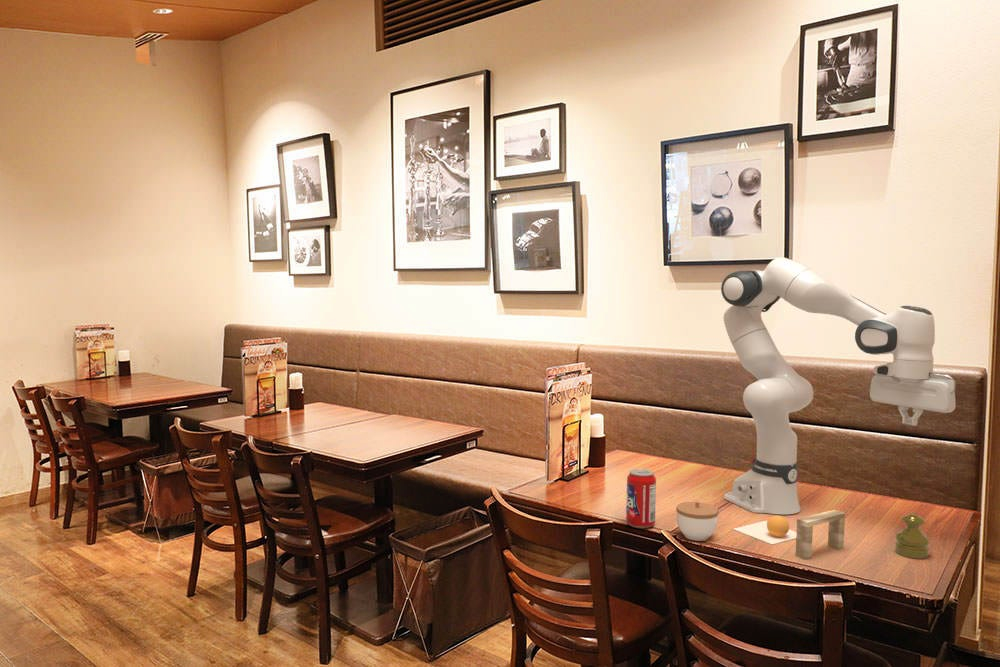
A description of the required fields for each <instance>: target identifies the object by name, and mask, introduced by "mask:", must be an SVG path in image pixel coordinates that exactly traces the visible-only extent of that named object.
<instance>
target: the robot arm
mask: <svg viewBox="0 0 1000 667" xmlns="http://www.w3.org/2000/svg"><path fill="white" fill-rule="evenodd" d="M720 288H721V290H720V291H721V295H722V298H723V299H724V301H725V302H726V303H727V304H730V305H731V306H729V308H727V309H726V310H725V311H724V313H723V324H724V327H725V329H726V333H727V336H728V339H729V341H730V343H731V345H732V348H733V350H734V351H735V353H736V355H737V358H738V359H739V361H740V364H741V365H742V366H741V367H743V368H744V370H746V371H747V372H749V373H750V374H752V375H753V376H754V377H755V378H756V379H757V380H756V381H754V382H753V383H750V384H749V385H748V386H747V387H746V388H745V389H744V390H743V395H742V401H743V406H744V408H745V409H746V410H747V412H749V413H750V414H751V416H752V418H753V421H754V426H755V429H756V430H755V431H756V457H755V458H753V459H748V461H749V462H748V464H752V465H751V468H750V469H748V471H746V472H744V473H742V474H741V475H739V476H737V477H736V478H735V479H734V481H733V483H732V487H731V490H730V491H728V492H726V493H724V495H723V499H724V500H727V501H729V502H730V503H733V504H734V505H736V506H739V507H741V508H743V509H745V510H748V511H750V512H752V513H758V514H771V515H794V514H797V513H800V512H801V506H800V502H799V501H800V500H799V496H798V495H799V494H798V486H797V480H798V479H797V478H798V474H799V473H798V472H799V463H798V461H797V456H798V436H797V434H796V432H795V431H794V430H793V429H792V427H791V422H790V419H789V414H790V413H794V412H799V411H801V410H803V409H804V408H806V407H807V406H809V405H810V404H811V403H812V401H813V399H814V389H813V386H812V384H811V383H810V381H809V380H808V379H807V378H805V377H803V376H801V375H800V374H798V373H797V371H796V370H795V369H794V368H793V367H792V366H791V365H790V364H789V363H788V362H787V360H786V358H784V357H783V355H782V354H781V353H780V351H779V349H778V347H777V346H776V344H775V342H774V340H773V338H772V337H771V334H770V333H769V331H768V328H767V326H766V324H765V323H764V321H763V318H762V313H766V312H768V311H769V310H770V309H771V308H772V307H773V306H774V304H776V303H777V302H779V300H780V299H783V300H784V301H786V303H789V304H790V305H791V306H793V307H795V308H797V309H798V310H801V311H804V312H807V313H811V314H821V315H829V316H836V317H840V318H843V319H844V320H847V321H849V322H850V323H852V324H854V325H856V326H857V328H856V329H855V333H854V340H855V341H854V342H855V343H856V346H857V347H858V349H859V350H861V351H862V352H863V353H865V354H870V355H873V356H874V355H875V356H876V355H880V356H881V355H889V354H892V356H893V357H892V358H893V359H892V360H893V362H888V363H886V364H880V365H875V366H874V367H873V369H872V370H873V374H874V376H873V377H872V379H871V383H870V389H869V397H870V400H871V401H872V402H876V403H881V404H886V405H887V404H888V405H893V406H894V405H895V406H898V409H897V410H898V411H899V414H900V415H901V417H902V422H901V423H902V424H903V425H909V426H915V427H916V426H917V425H918V422H919V418H920V417H921V416H922V414H923V413H924V410H925V411H930V412H937V413H941V414H943V413H944V414H948V413H952V412H954V410H956V407H957V406H956V393H955V392H956V380H955V379H954V378H953V377H951V375H949V374H946V373H945V374H942V373H935V372H934V355H933V348H934V345H935V340H936V339H935V338H936V329H935V327H936V326H935V317H934V315H933V313H932V311H930V310H929V309H926V308H923V307H919V306H912V305H901V306H899V307H898V308H896V309H895V310H894V311H891V312H889V313H885V312H882V311H880V310H879V309H877V308H876V307H873V306H872V305H870V304H868V303H867V302H865V301H862V300H861V299H859V298H857V297H855V296H853V295H852V294H849V293H848V292H846V291H844V289H842V288H840V286H839V287H838V286H837V285H835V284H834V283H833V282H831V281H829V280H828V279H827V278H825V277H823V276H822V275H821V274H819V273H818V272H816V271H814V269H811V268H809V267H808V266H806V265H804V264H802V263H799V262H797V261H795V260H792V259H790V258H787V257H782V256H781V257H777V258H774V259H772V260H771V261H770V262H769V263H768V264H767V266H766V267H765V268H764V270H757V269H752V270H737V271H734V272H733V271H732V272H731V273H729V274H728V275H727V276H725V278H724V279H723V281H722V283H721V287H720ZM909 408H912V413H913V415H912V416H909V414H908V413H909V412H908V410H909Z"/></svg>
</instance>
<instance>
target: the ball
mask: <svg viewBox="0 0 1000 667" xmlns="http://www.w3.org/2000/svg"><path fill="white" fill-rule="evenodd" d="M767 529H768V531H769V532H770V534H772V535H773V536H775V537H783V536H785V535H786V534H787V533H788V531H789V530H790V524H789V522H788V520H787V519H786V518H785V517H784V516H781V515H773V516H771V517H769V519H768V520H767Z"/></svg>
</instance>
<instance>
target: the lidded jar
mask: <svg viewBox="0 0 1000 667" xmlns="http://www.w3.org/2000/svg"><path fill="white" fill-rule="evenodd" d="M675 509H676V510H675V511H676V522H677V526H678V528H679V530H680V532H681V533H682V535H684V537H685V538H686V539H688V540H692V541H694V542H695V541H697V542H702V541H707V540H709V538H710V537H711V536H712V535H713V534H714V533H715V532H716V529H717V526H718V522H719V508H718V507H716V506H715V505H713V504H709V503H706V502H700V501H697V500H696V501H685V502H681V503H678V504H677V505H676V508H675Z"/></svg>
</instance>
